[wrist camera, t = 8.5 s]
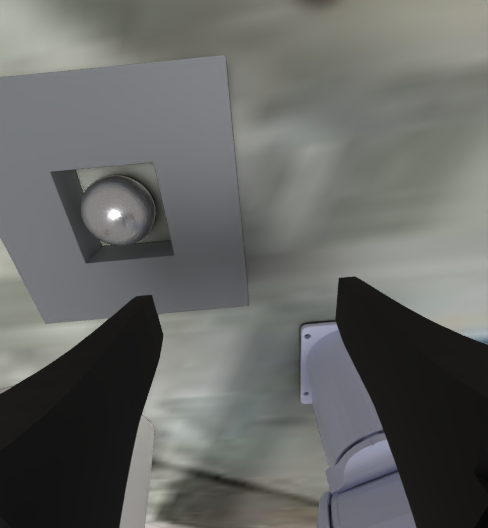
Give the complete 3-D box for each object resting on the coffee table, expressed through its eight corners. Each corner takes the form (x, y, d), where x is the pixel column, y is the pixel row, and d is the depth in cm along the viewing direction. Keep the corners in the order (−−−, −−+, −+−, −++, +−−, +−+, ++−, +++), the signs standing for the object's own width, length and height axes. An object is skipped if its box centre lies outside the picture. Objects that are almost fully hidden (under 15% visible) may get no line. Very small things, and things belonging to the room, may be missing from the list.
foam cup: (59, 436, 30) (-48, 640, 19) (98, 386, 27) (-4, 596, 15) (143, 465, 33) (95, 656, 21) (187, 423, 30) (157, 622, 18)
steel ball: (168, 229, 20) (151, 254, 16) (109, 233, 20) (80, 259, 16) (155, 167, 18) (134, 180, 14) (91, 172, 18) (53, 186, 14)
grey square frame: (247, 285, 22) (249, 305, 20) (64, 302, 22) (45, 323, 20) (226, 62, 15) (225, 55, 13) (-35, 88, 16) (-79, 85, 13)
